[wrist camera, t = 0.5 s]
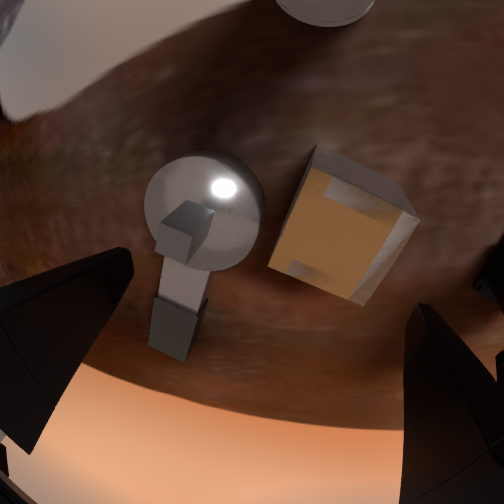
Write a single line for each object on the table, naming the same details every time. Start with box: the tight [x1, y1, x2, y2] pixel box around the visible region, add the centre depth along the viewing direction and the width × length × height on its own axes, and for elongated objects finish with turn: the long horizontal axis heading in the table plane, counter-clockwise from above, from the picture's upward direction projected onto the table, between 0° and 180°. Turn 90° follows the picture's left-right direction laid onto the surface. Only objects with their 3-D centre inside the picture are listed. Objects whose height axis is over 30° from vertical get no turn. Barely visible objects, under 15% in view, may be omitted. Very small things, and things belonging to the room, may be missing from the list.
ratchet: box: [144, 150, 266, 363], centre depth 22 cm, size 20×8×6 cm, turn 161°
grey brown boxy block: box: [268, 144, 420, 306], centre depth 17 cm, size 6×6×6 cm
